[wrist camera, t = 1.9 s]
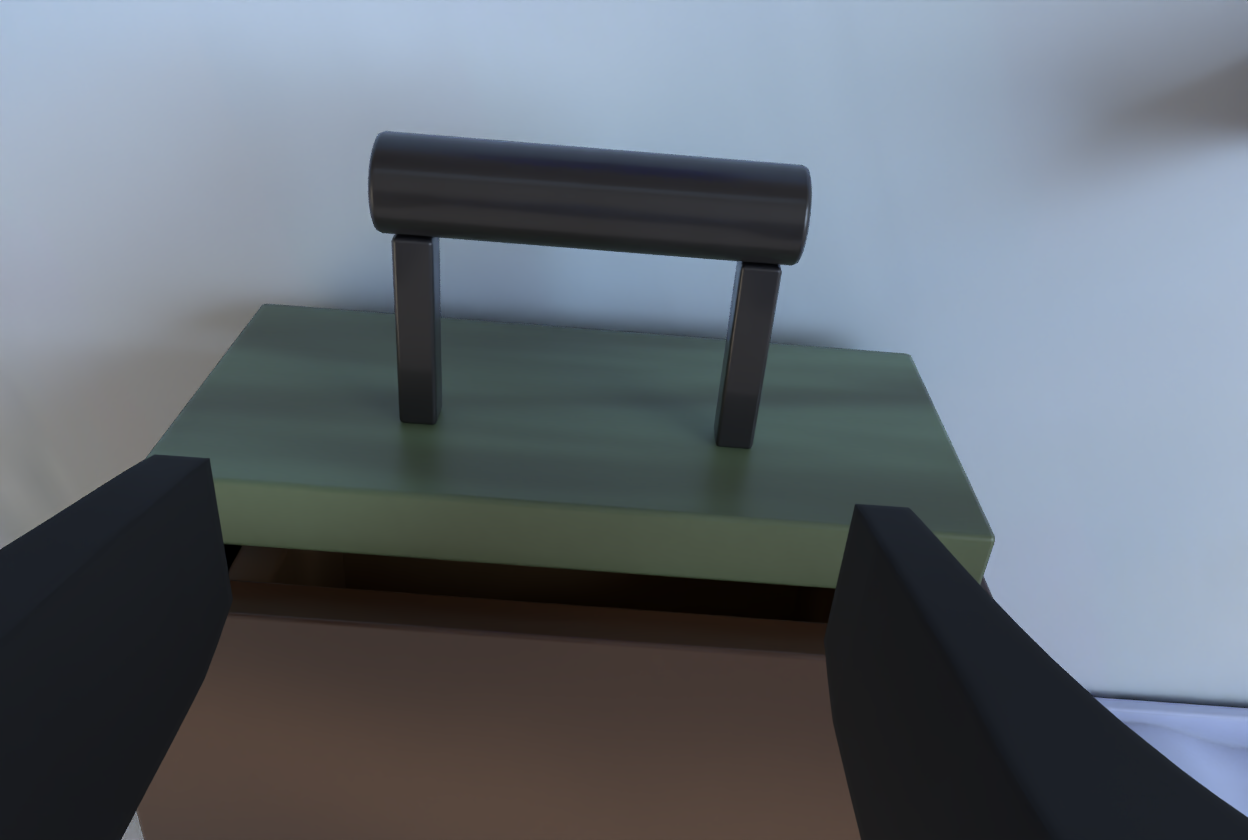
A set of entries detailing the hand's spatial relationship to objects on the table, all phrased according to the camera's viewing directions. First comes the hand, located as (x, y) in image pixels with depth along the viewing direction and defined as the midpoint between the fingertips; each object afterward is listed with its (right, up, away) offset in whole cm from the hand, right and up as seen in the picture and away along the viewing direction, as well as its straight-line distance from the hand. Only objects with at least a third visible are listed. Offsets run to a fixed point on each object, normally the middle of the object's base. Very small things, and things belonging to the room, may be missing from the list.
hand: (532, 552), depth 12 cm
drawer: (0, 0, +10) cm, 10 cm away
